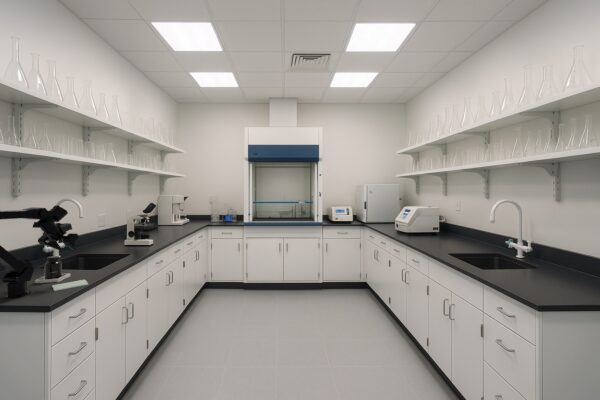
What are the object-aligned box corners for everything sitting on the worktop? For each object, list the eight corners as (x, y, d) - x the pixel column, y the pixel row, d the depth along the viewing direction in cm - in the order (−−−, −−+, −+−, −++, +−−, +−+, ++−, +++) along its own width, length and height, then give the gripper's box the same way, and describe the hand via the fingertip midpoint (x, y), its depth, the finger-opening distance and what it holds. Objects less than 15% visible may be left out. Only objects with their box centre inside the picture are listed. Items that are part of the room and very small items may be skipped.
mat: (54, 291, 133) (54, 290, 133) (52, 286, 141) (52, 285, 140) (88, 284, 143) (88, 283, 143) (84, 280, 150) (84, 279, 150)
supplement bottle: (51, 281, 148) (51, 258, 147) (41, 281, 149) (40, 258, 149) (65, 277, 154) (64, 255, 154) (55, 277, 156) (54, 255, 155)
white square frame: (58, 281, 148) (58, 278, 148) (35, 283, 146) (35, 280, 146) (70, 276, 158) (70, 273, 158) (49, 277, 156) (49, 274, 156)
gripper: (78, 217, 147) (93, 239, 157) (46, 217, 150) (64, 238, 160) (61, 232, 139) (79, 254, 148) (28, 232, 141) (48, 253, 151)
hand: (68, 249), depth 152 cm, fingers open, 9 cm apart
